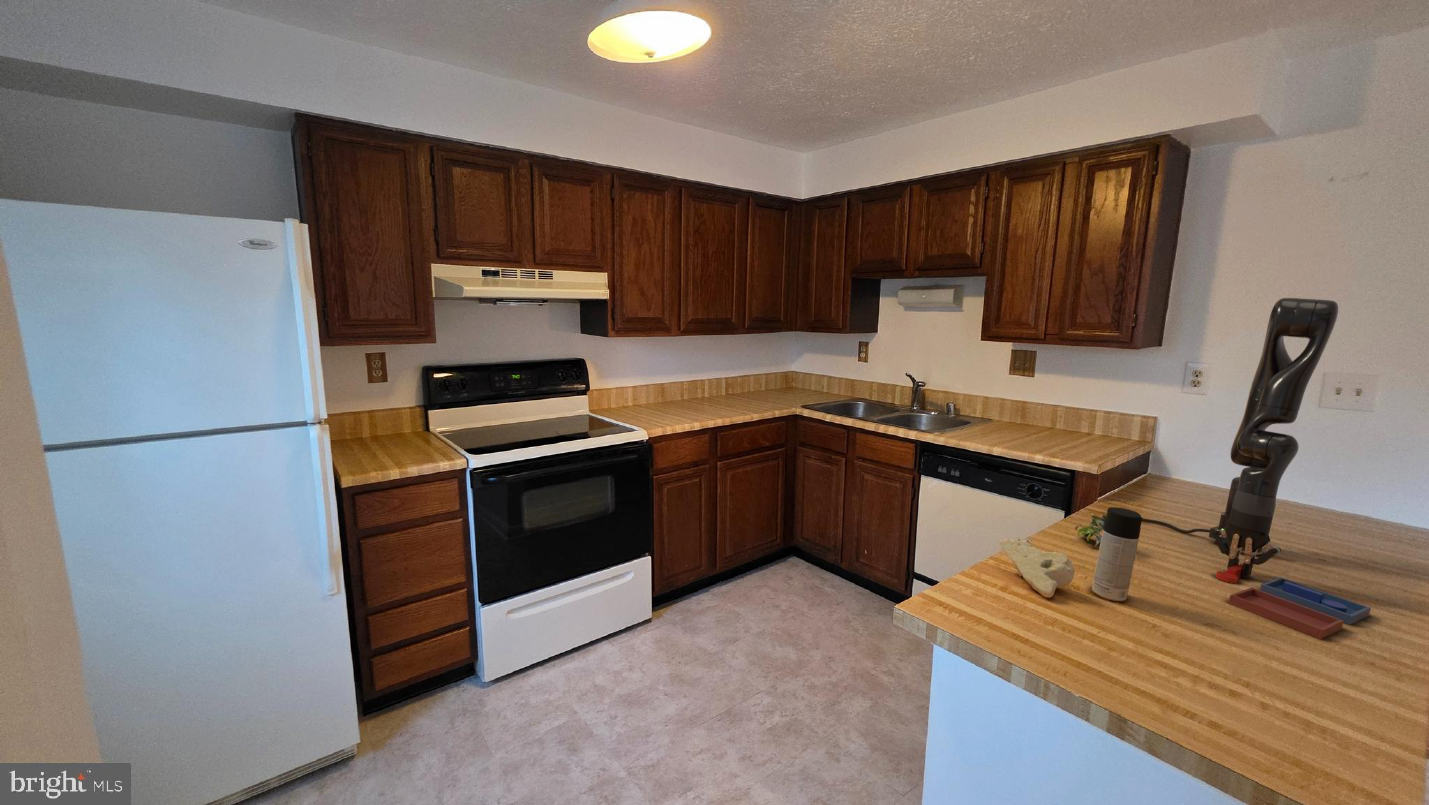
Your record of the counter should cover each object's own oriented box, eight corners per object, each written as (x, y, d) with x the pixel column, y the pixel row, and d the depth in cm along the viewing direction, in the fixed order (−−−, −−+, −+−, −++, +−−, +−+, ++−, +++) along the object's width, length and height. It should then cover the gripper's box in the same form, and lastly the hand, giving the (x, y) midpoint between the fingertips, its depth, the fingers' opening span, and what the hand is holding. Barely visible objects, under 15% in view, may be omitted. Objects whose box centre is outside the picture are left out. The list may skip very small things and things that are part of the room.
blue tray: (1259, 591, 134) (1261, 584, 134) (1278, 584, 139) (1280, 577, 139) (1350, 625, 121) (1352, 616, 121) (1368, 616, 125) (1371, 607, 125)
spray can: (1123, 592, 130) (1138, 510, 127) (1130, 605, 124) (1147, 519, 121) (1089, 585, 133) (1103, 504, 129) (1094, 597, 127) (1110, 513, 123)
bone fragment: (1080, 612, 124) (1078, 552, 133) (1072, 595, 120) (1070, 534, 129) (1005, 607, 133) (1007, 551, 142) (996, 591, 130) (999, 535, 139)
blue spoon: (1349, 611, 126) (1351, 601, 126) (1341, 614, 124) (1344, 604, 124) (1286, 589, 135) (1288, 580, 135) (1279, 592, 134) (1281, 583, 133)
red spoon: (1232, 584, 138) (1234, 575, 137) (1212, 577, 141) (1214, 568, 141) (1252, 577, 142) (1254, 568, 142) (1233, 570, 146) (1234, 561, 145)
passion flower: (1110, 564, 158) (1147, 541, 151) (1087, 562, 154) (1124, 538, 147) (1084, 530, 166) (1118, 506, 159) (1061, 527, 162) (1095, 502, 154)
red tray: (1228, 603, 128) (1230, 594, 127) (1249, 595, 132) (1251, 587, 132) (1321, 639, 114) (1323, 630, 114) (1341, 629, 119) (1343, 620, 119)
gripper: (1296, 517, 135) (1280, 584, 138) (1226, 499, 148) (1212, 561, 150) (1282, 521, 132) (1266, 589, 135) (1211, 502, 144) (1198, 565, 147)
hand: (1238, 574), depth 143 cm, fingers closed on red spoon, 1 cm apart
